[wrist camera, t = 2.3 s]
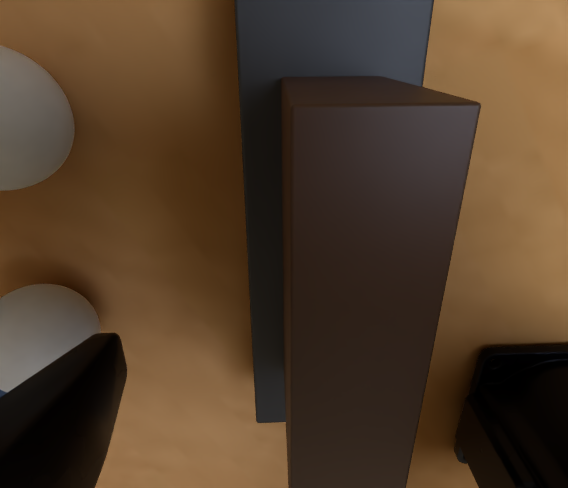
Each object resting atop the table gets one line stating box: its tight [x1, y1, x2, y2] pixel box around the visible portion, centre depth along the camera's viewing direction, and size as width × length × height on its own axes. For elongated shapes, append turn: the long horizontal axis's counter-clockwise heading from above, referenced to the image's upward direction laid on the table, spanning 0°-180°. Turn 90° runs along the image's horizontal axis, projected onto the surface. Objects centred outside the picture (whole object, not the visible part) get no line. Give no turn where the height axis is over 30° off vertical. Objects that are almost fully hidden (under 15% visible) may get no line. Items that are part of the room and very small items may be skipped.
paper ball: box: [0, 284, 101, 392], centre depth 13 cm, size 4×4×4 cm
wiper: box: [234, 0, 481, 488], centre depth 10 cm, size 4×14×8 cm, turn 0°
